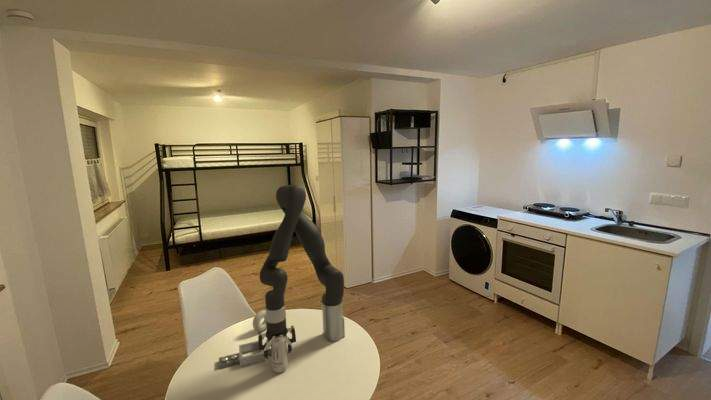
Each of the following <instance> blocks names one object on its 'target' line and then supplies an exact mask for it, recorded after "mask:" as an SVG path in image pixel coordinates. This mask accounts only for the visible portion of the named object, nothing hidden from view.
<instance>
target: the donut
mask: <svg viewBox="0 0 711 400" xmlns="http://www.w3.org/2000/svg"><path fill="white" fill-rule="evenodd" d="M265 312H266V309H262V310H260V311H258V312H257V313H256V314H255V315H254V317H253V320H252V327H253V330H254V331H257V332H263V331H266V330H267V329H266V314H265ZM262 319H264V320H263V322H261V320H262Z"/></svg>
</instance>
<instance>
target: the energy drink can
mask: <svg viewBox="0 0 711 400" xmlns="http://www.w3.org/2000/svg"><path fill="white" fill-rule="evenodd" d="M283 336H284V335H283ZM283 336H281V337H279V336H276V338H274V340H272V344H271V368H272V371H274V373H276V374H282V373H283V372H286V370H287V368H288V367H289V365H288V364H289V363H288V362H289V361H288V345H287V343H286V341H285V338H284V337H283ZM285 337H286V336H285Z"/></svg>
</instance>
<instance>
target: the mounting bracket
mask: <svg viewBox="0 0 711 400" xmlns="http://www.w3.org/2000/svg"><path fill="white" fill-rule="evenodd" d="M263 341H264V340H262V345H264V342H263ZM238 345H239V346H238V348H239V349H238V351H239V352H236V353H233V354H230V355H229V354H228V355H225V356H222V357H218V370H221V369H224V368H229V367H233V366H236V365H239V366H240V368H243V367H246V366H250V365H253V364H257V363H260V362H264V361H266V358H265V357H264V350H261V351H260V352H257V353H253V354H248V355H246V356H243V354H246V353H249V352H253V351H257V350H258V351H259V347H258V340H255V341H252V342H247V343H242V344H238ZM267 350H268V357H270V356H271V345H270V346H269V347H268V349H267Z"/></svg>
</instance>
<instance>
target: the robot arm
mask: <svg viewBox="0 0 711 400" xmlns="http://www.w3.org/2000/svg"><path fill="white" fill-rule="evenodd" d="M306 198H307V192H306V190H305V188H304V187H303V186H302V185H298V184H286V185H285V184H284V185H281V186H279V187H278V188H277V190H276V193H275V199H276V202H277V203H278V206H279V207H280V209H281V210H282V212H283V214H284V216H283V218H282V221H281V223H280V225H279V226H278V228H277V229H276V231H275V233H274V235H273V237H272V240H271V244H270V248H269V253H268V256H267V257H266V259H265V260H264V263H263V265H262V267H261V269H260V271H259V281H260V282H261V284H263V285H265V286H268V287H272V289H270V290H268V291H267V292H266V293H265V294H264V295H265V296H264V297H265V298H264V299H265V310H266V312H265V314H266V329H265V331H266V332H264V333H262V332H258V337H257V341H258V347H259V349H258V351H260V352H261V350H264V357H265V360H266V359H267V360H269V356H268V350H267V349H268V347H269V346H270V345H271V344H272V340H274V338H276V336H279V337H281V336H283V335H284V336H283V337H284V338H285V341H286V346H287V354H291V352H292V351H293V350H292V349H293V343H296V342H297V335H296V329H295V326H294V325H291V326H290V327H287V312H286V305H285V293H286V289H287V285H288V284H287V283H288V280H289V279H288V274H287V272H286V270H285V269H283V268H280V267H277V266H278V264H279V263H283V262H286V261H287V259H288V257H289V252H290V247H291V243H292V239H293V235H294V232H295V234H296V236H297V238H298V241H299V243H300V245H301V247H302V248H303V250H304V252H305V253H306V255H307V257H308V260H310V262H311V263H312V266H313V268H314V271H315V274H316V276H317V277H316V278H317V279H318V281H319V283H320V284H322V285H323V286H324V287H325V292H324V293H323V295H322V296H321V309H322V330H323V331H322V332H323V333H322V334H323V339H324V340H326V341H327V342H338V341H341V340H342V339H343V338H345V337H346V333H345V330H346V329H345V327H346V326H345V317H344V314H343V310H344V309H343V298H344V294H345V278H344V273H343V272H342V271H341V270H340V269H338V268H336V267H335V266H333V265H332V263H331V261H330V260H329V257H327V254H326V247H325V240H324V238H323V236H322V234H321V231H320V229H319V228H318V227H317V226H316V224H315V223H314V222H313V221H312V220H311V219H310V218H309V217H308V216H307V215H306V214H305V213H304V212H303V208H304V205H305V203H306ZM288 333H289V334H291V338H290V337H289V336H288V335H287V334H288ZM285 336H286V337H285ZM265 338H266V341H265V342H264V343H263V345H262V341H264V339H265Z"/></svg>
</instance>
